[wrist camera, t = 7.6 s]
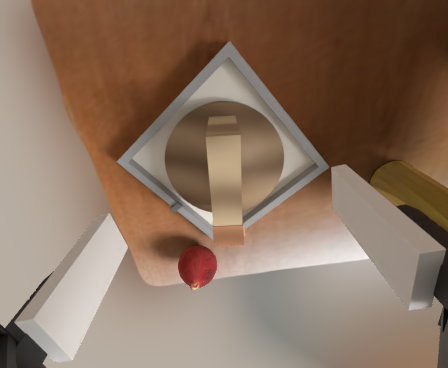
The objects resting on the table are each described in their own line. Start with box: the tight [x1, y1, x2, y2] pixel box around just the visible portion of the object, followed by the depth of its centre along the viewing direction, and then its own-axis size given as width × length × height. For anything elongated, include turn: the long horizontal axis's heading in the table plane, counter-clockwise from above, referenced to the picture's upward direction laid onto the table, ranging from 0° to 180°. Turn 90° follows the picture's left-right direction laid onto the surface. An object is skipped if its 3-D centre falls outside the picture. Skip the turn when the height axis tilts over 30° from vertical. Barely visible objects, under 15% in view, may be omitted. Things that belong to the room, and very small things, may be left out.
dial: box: [165, 101, 284, 246], centre depth 27 cm, size 15×15×9 cm
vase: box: [370, 161, 448, 231], centre depth 28 cm, size 6×6×14 cm
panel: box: [117, 41, 330, 247], centre depth 31 cm, size 19×20×3 cm
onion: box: [178, 246, 217, 290], centre depth 36 cm, size 6×6×8 cm
